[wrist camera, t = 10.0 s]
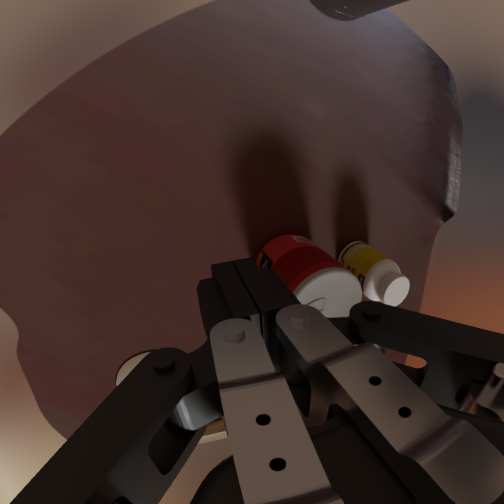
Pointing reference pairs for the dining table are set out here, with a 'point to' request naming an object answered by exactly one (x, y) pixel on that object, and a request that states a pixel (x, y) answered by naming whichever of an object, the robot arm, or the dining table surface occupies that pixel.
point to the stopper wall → (213, 432)
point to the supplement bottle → (375, 273)
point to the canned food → (311, 274)
